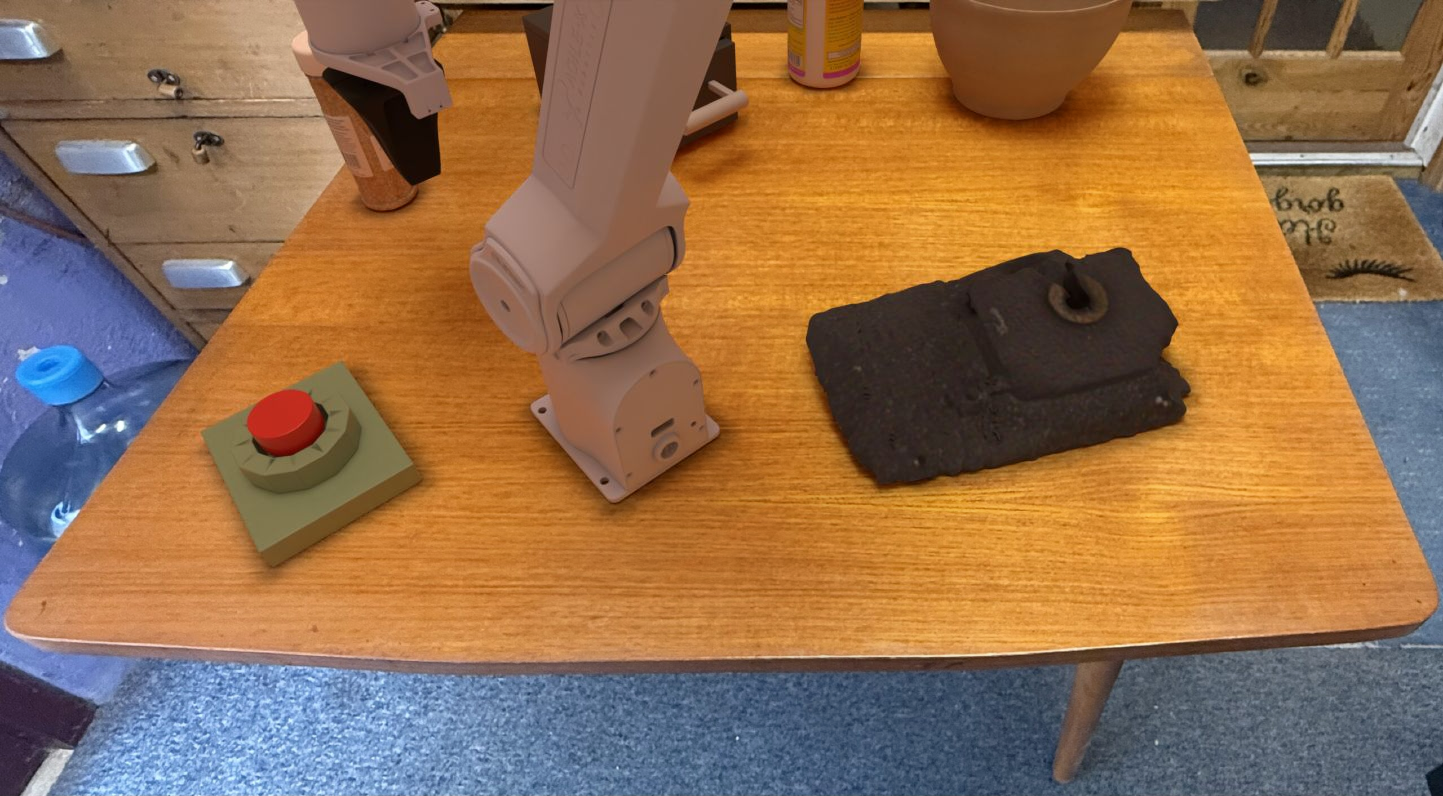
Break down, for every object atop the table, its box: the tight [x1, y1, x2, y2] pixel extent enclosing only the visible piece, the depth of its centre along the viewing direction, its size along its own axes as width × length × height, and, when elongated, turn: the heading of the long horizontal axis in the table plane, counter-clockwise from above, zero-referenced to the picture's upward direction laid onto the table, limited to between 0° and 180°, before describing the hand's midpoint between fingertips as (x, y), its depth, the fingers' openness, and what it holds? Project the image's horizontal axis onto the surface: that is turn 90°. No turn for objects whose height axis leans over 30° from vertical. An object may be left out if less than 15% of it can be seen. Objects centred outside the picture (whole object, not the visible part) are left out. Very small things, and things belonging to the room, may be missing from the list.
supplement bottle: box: [786, 0, 865, 89], centre depth 73 cm, size 7×7×13 cm
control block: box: [200, 360, 423, 568], centre depth 49 cm, size 11×9×4 cm
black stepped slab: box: [805, 246, 1192, 484], centre depth 51 cm, size 15×22×5 cm
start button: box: [247, 389, 325, 457], centre depth 47 cm, size 4×4×2 cm
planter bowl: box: [929, 0, 1135, 121], centre depth 69 cm, size 16×16×11 cm
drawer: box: [678, 38, 750, 149], centre depth 69 cm, size 17×10×7 cm, turn 39°
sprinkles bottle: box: [290, 29, 418, 212], centre depth 63 cm, size 5×5×14 cm
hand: (422, 175), depth 51 cm, fingers closed
